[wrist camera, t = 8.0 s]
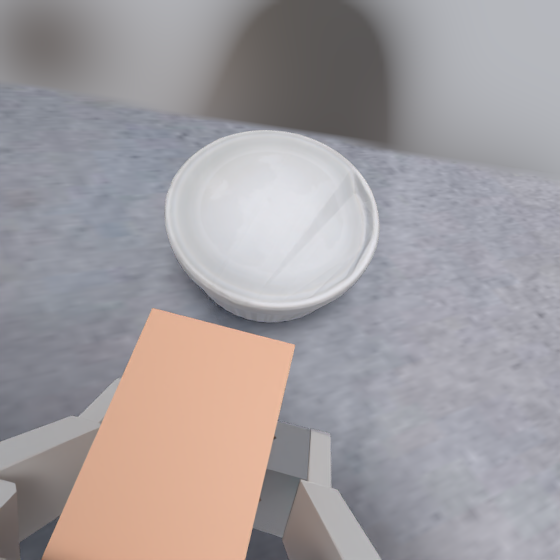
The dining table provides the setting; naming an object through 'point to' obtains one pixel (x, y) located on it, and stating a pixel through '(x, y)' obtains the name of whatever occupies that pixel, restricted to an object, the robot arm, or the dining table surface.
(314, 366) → the dining table surface
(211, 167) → the ramekin
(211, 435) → the block
